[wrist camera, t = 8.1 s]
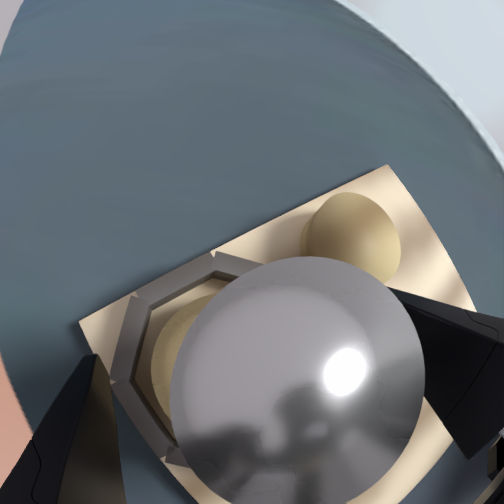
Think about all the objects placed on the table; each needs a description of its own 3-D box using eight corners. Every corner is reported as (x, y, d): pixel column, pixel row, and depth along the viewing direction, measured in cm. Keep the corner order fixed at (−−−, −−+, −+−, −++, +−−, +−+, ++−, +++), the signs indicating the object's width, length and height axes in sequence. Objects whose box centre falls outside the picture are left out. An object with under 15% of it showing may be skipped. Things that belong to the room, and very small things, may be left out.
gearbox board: (490, 367, 19) (516, 363, 16) (287, 571, 10) (304, 595, 7) (381, 170, 23) (402, 147, 20) (84, 323, 14) (60, 314, 11)
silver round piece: (320, 349, 16) (486, 319, 6) (247, 459, 12) (347, 580, 2) (211, 272, 16) (259, 126, 6) (128, 381, 13) (10, 423, 3)
